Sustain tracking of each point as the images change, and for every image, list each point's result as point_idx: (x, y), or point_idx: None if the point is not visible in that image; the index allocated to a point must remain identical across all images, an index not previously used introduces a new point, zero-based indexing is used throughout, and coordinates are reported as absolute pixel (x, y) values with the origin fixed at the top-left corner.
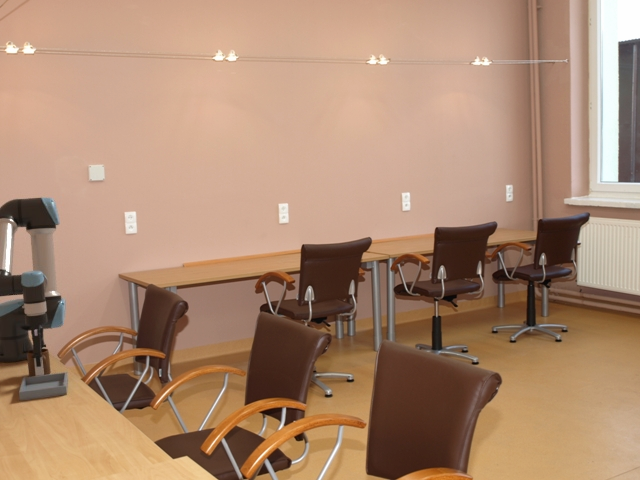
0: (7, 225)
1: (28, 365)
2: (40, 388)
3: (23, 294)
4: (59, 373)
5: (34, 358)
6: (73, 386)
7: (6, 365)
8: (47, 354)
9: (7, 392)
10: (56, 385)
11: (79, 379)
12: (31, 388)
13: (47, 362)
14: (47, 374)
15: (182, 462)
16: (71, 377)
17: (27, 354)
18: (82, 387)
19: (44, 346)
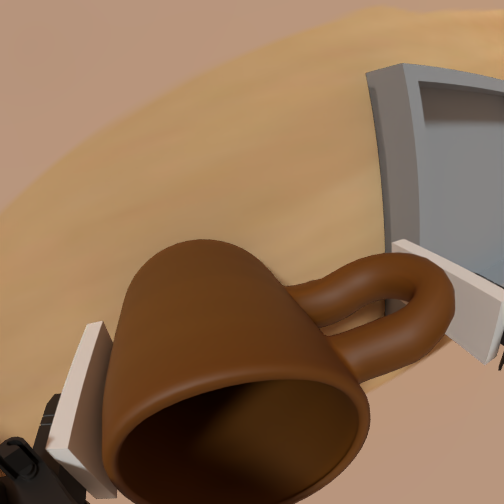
0: None
1: (269, 416)
2: (475, 209)
3: None
4: (422, 119)
5: (493, 351)
6: (457, 53)
7: None
8: (274, 330)
9: (433, 348)
10: (463, 133)
11: (364, 8)
12: (460, 256)
13: (259, 283)
14: (241, 248)
15: None
16: (312, 52)
17: (294, 492)
18: (468, 21)
19: (31, 460)
